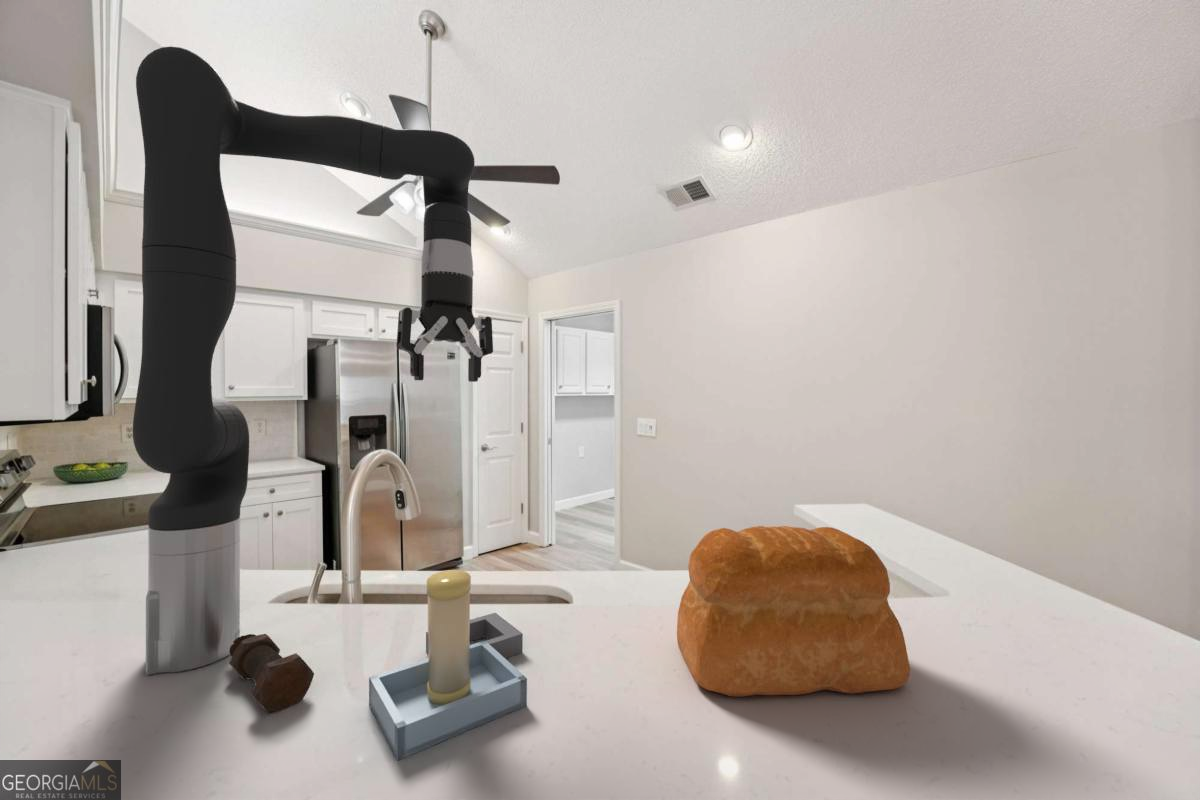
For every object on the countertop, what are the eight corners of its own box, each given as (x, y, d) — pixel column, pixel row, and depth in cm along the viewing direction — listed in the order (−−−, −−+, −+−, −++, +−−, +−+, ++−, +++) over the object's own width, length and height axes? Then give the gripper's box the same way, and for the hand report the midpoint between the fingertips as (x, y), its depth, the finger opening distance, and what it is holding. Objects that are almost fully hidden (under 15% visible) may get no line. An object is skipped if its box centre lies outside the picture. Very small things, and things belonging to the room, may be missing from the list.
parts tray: (397, 760, 46) (397, 728, 46) (369, 704, 54) (369, 676, 54) (526, 705, 54) (526, 678, 54) (484, 664, 63) (484, 640, 63)
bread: (925, 698, 57) (927, 547, 57) (699, 706, 55) (701, 550, 55) (847, 632, 72) (848, 514, 72) (669, 637, 70) (670, 515, 70)
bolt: (251, 673, 64) (294, 718, 54) (208, 667, 61) (246, 714, 51) (276, 625, 66) (322, 660, 57) (236, 617, 63) (278, 653, 53)
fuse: (446, 711, 53) (445, 593, 51) (418, 693, 55) (417, 581, 54) (479, 687, 56) (479, 577, 55) (452, 672, 59) (451, 566, 58)
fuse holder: (448, 678, 60) (448, 657, 60) (425, 651, 66) (426, 632, 66) (522, 652, 66) (522, 633, 66) (495, 629, 72) (495, 612, 72)
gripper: (480, 286, 84) (479, 382, 84) (392, 272, 75) (391, 380, 75) (500, 278, 78) (500, 381, 78) (407, 262, 69) (406, 379, 69)
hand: (446, 380), depth 77 cm, fingers open, 8 cm apart
